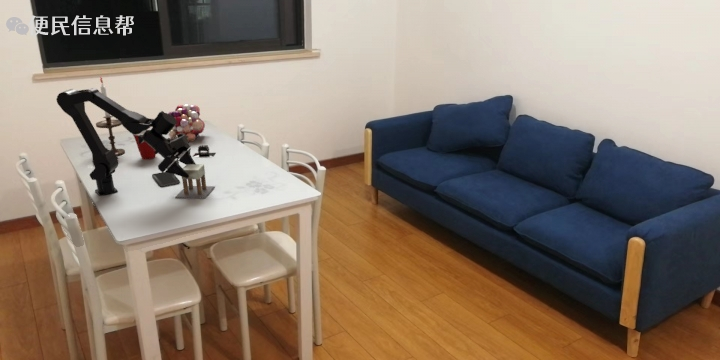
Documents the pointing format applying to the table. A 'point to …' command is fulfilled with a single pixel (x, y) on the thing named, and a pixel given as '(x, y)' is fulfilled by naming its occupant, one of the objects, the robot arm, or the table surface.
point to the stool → (194, 177)
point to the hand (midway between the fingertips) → (192, 172)
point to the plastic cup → (144, 148)
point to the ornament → (187, 121)
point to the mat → (194, 193)
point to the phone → (165, 179)
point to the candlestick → (110, 126)
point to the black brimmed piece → (203, 154)
